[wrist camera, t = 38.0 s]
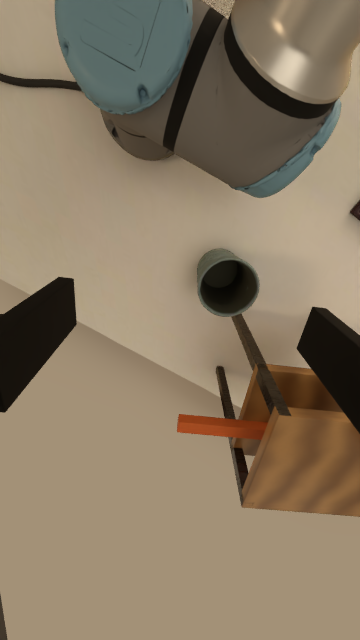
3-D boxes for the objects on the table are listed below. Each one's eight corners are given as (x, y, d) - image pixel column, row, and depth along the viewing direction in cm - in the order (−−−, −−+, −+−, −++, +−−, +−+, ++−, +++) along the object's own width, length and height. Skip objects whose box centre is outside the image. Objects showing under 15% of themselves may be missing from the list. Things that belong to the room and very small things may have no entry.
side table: (215, 370, 64) (241, 507, 36) (230, 305, 56) (278, 415, 28) (293, 379, 65) (376, 518, 37) (318, 315, 57) (449, 432, 29)
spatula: (175, 432, 41) (175, 440, 40) (180, 404, 39) (180, 412, 37) (336, 447, 42) (342, 455, 41) (351, 421, 40) (358, 429, 38)
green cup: (192, 248, 50) (194, 262, 40) (243, 241, 50) (260, 254, 39) (197, 295, 55) (200, 320, 44) (244, 290, 54) (259, 313, 43)
